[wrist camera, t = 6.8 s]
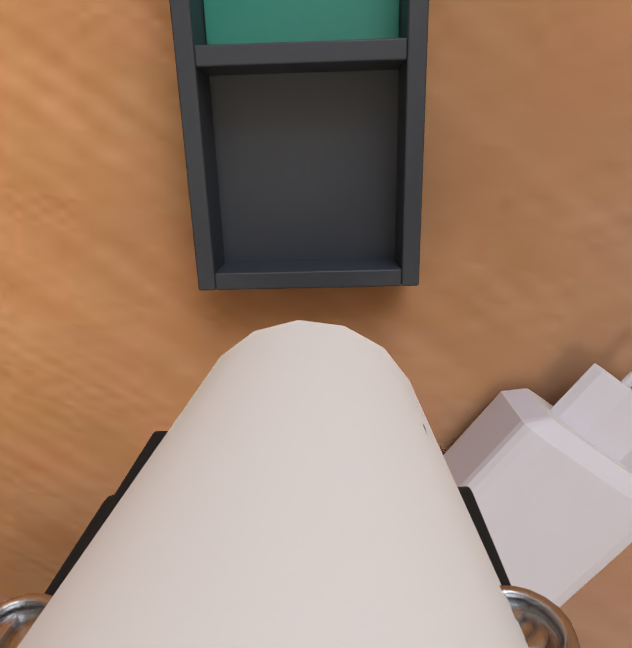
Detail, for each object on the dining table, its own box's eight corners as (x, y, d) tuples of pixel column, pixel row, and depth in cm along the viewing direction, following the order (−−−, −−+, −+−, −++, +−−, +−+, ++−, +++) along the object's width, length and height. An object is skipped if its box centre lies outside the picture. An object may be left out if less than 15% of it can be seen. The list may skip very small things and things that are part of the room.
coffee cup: (199, 534, 15) (-45, 1235, 5) (160, 310, 13) (-371, 798, 3) (436, 525, 14) (639, 1262, 5) (436, 294, 12) (794, 785, 3)
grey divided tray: (422, -211, 20) (438, -274, 17) (408, 270, 27) (419, 285, 23) (169, -199, 21) (142, -259, 18) (213, 275, 27) (198, 290, 24)
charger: (700, 389, 28) (515, 567, 32) (576, 296, 27) (398, 494, 31) (771, 434, 24) (545, 634, 28) (627, 325, 22) (411, 553, 26)
